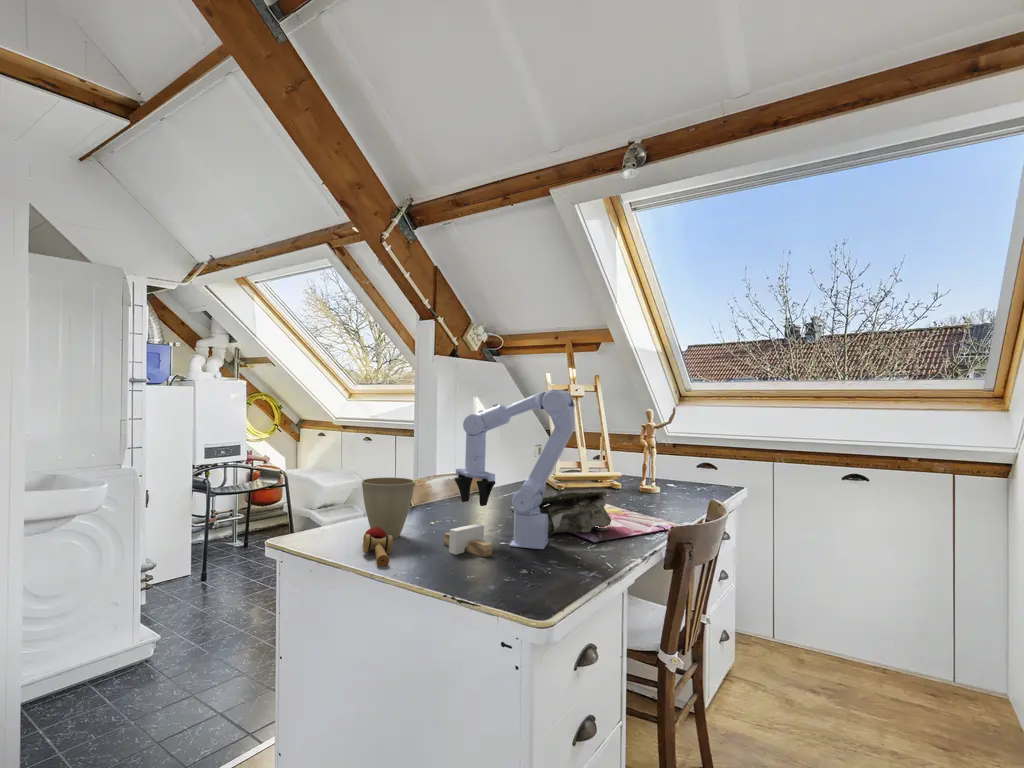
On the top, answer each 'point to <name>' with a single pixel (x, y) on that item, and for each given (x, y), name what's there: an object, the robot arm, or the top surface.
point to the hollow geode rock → (575, 512)
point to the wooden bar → (474, 546)
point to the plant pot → (387, 503)
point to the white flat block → (464, 537)
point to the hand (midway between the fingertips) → (474, 503)
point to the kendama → (378, 544)
